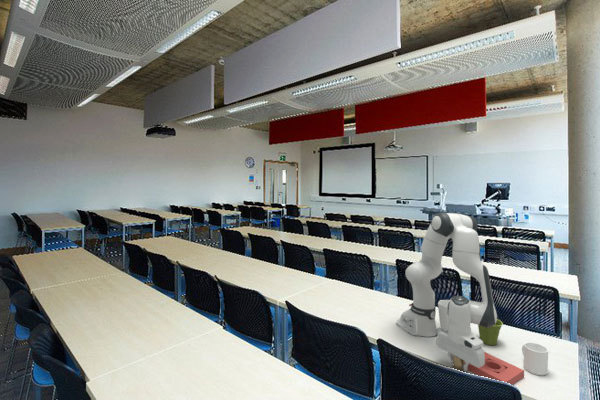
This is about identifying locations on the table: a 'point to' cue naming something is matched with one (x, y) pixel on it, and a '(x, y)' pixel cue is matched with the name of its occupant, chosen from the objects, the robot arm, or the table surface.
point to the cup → (443, 313)
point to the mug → (535, 358)
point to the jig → (498, 370)
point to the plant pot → (490, 333)
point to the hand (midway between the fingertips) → (458, 366)
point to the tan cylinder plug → (458, 363)
